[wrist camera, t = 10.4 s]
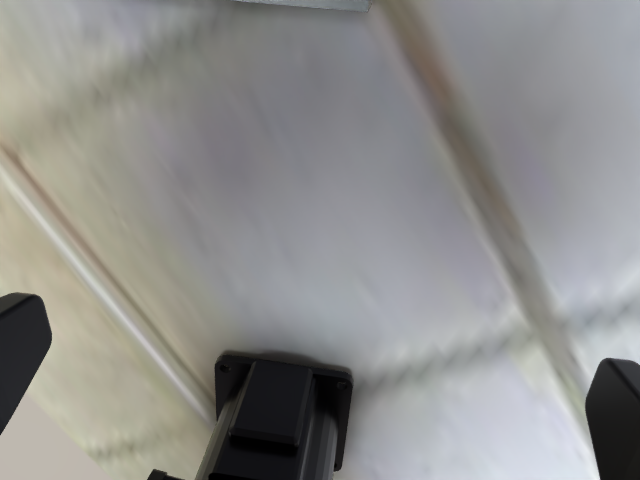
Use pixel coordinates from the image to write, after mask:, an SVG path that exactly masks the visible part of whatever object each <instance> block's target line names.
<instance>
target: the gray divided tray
mask: <svg viewBox="0 0 640 480" xmlns="http://www.w3.org/2000/svg"><path fill="white" fill-rule="evenodd" d="M232 1H244V2H255V3H267V4H278V5H290V6H301V7H312V8H324V9H335V10H347V11H358V12H368V10H369V8H370V7H371V2H372V0H232Z"/></svg>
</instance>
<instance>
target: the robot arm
mask: <svg viewBox="0 0 640 480" xmlns="http://www.w3.org/2000/svg"><path fill="white" fill-rule="evenodd" d="M51 341H52V332H51V328H50V324H49V320H48V317H47V313H46V309H45V305H44V302H43V300H42V299H41V297H40V296H38V295H36V294H28V293H18V292H16V293H11V294H8V295H5V296H3V297H0V435H1V433H2V432H3V430H4V429H5V427H6V425H7V424H8V422H9V420H10V419H11V417H12V415H13V413H14V412H15V410H16V408H17V406H18V404H19V403H20V401H21V399H22V397H23V395H24V394H25V392H26V390H27V388H28V386H29V385H30V383H31V381H32V379H33V377H34V375H35V374H36V372H37V370H38V368H39V366H40V365H41V363H42V361H43V359H44V357H45V356H46V354H47V352H48V350H49V348H50V345H51ZM224 365H228V366H229V367H226V366H224ZM339 382H344V383H345V384H341V383H339ZM352 388H353V378H352V376H351V375H350V374H348V373H346V372H342V371H335V370H329V369H322V368H315V367H308V366H301V365H294V364H287V363H280V362H273V361H266V360H260V359H253V358H246V357H239V356H232V355H222V356H220V357H219V358H218V359H217V361H216V364H215V389H216V414H217V424H216V427H215V429H214V432H213V434H212V437H211V439H210V442H209V444H208V447H207V450H206V452H205V455H204V457H203V460H202V462H201V465H200V468H199V470H198V473H197V475H196V478H195V480H332V478H333V472H335V471H339V470H340V469H341V467H342V462H343V454H344V447H345V440H346V432H347V425H348V418H349V410H350V403H351V396H352ZM585 411H586V417H587V421H588V426H589V430H590V435H591V440H592V444H593V449H594V453H595V458H596V462H597V467H598V471H599V476H600V480H640V365H639V364H638V363H636V362H634V361H631V360H624V359H615V358H606V359H603V360H602V361H601V362H600V364H599V366H598V368H597V371H596V373H595V376H594V378H593V381H592V384H591V386H590V389H589V391H588V394H587V397H586V402H585ZM147 480H184V479H180V478H176V477H172V476H169V475H167V472H163V471H160V470H156V469H153V471H152V472H151V474H150V476H149V477H148V479H147Z"/></svg>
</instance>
